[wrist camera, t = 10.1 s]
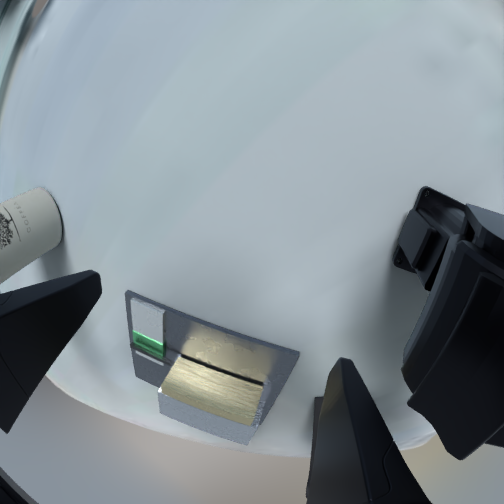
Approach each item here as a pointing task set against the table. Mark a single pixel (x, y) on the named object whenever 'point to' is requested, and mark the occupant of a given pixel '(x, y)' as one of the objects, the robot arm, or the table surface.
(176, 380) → the plate
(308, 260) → the table surface
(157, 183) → the table surface
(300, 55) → the table surface
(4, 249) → the travel mug
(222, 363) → the frame
